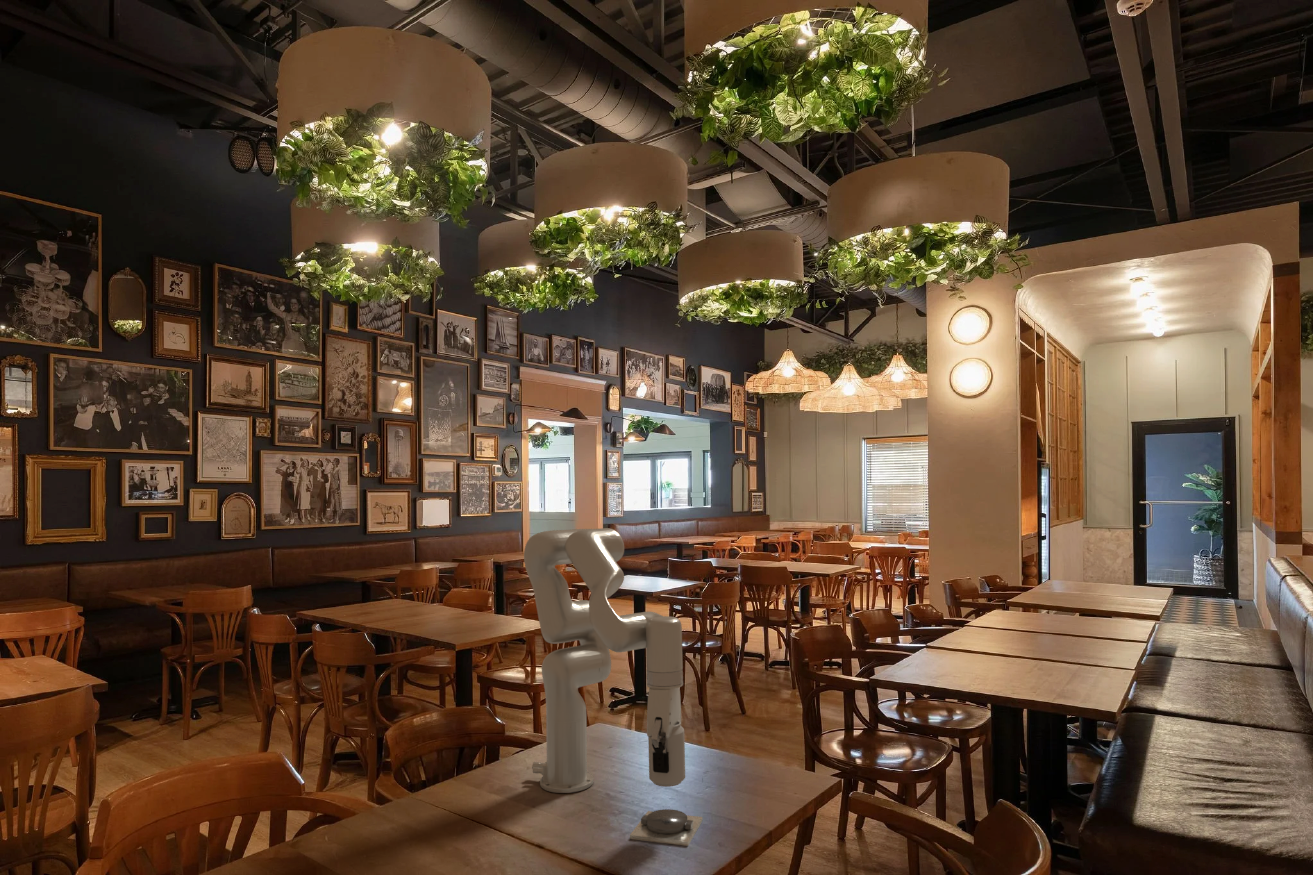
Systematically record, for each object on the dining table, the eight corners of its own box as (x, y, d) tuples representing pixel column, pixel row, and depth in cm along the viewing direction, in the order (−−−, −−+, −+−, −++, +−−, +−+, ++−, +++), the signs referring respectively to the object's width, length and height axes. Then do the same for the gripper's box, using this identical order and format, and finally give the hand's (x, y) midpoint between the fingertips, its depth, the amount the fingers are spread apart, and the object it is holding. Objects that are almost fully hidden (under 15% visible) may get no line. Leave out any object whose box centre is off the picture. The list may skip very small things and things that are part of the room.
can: (691, 777, 164) (689, 718, 165) (676, 790, 157) (675, 728, 158) (658, 772, 167) (657, 715, 168) (642, 785, 160) (641, 724, 161)
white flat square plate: (630, 838, 158) (629, 826, 158) (648, 814, 169) (647, 803, 169) (688, 846, 154) (687, 833, 154) (702, 820, 166) (702, 809, 166)
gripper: (659, 667, 173) (661, 750, 172) (634, 687, 156) (636, 778, 155) (692, 669, 171) (694, 752, 169) (670, 689, 154) (672, 782, 153)
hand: (666, 764), depth 162 cm, fingers closed on can, 7 cm apart
